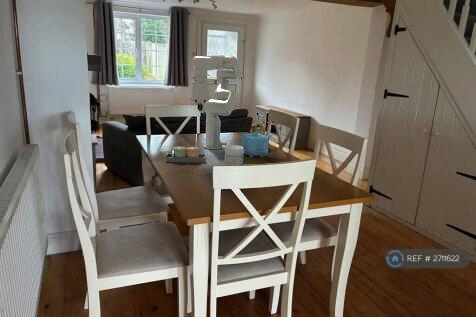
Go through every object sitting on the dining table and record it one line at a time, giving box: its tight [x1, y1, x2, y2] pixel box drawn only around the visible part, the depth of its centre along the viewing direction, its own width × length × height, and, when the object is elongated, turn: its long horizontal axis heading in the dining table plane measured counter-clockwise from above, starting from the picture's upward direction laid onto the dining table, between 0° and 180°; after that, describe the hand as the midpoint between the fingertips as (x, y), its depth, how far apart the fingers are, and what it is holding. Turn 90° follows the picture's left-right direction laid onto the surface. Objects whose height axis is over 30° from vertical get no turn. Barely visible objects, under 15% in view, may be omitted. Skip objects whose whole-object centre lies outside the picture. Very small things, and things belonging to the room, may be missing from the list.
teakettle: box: [237, 132, 273, 159], centre depth 221 cm, size 19×19×15 cm
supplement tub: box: [224, 144, 245, 166], centre depth 181 cm, size 10×10×15 cm
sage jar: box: [173, 146, 187, 158], centre depth 201 cm, size 7×7×7 cm
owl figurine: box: [248, 121, 266, 136], centre depth 246 cm, size 18×12×17 cm, turn 24°
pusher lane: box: [165, 151, 206, 163], centre depth 203 cm, size 22×9×4 cm, turn 99°
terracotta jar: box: [186, 146, 200, 158], centre depth 203 cm, size 7×7×7 cm
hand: (199, 110), depth 210 cm, fingers closed
